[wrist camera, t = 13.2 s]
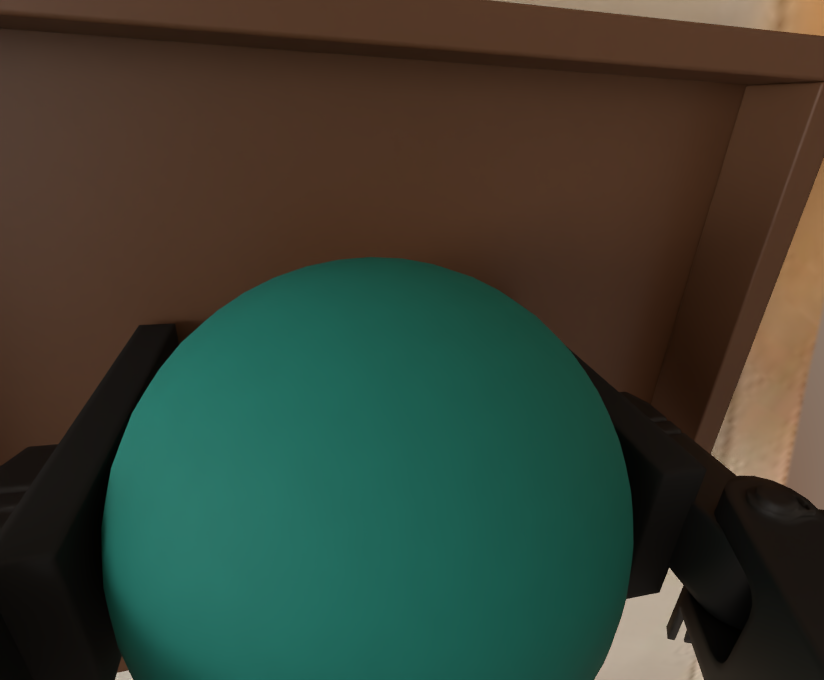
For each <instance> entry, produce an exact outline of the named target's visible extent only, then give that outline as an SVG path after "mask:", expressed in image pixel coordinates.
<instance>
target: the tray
mask: <svg viewBox="0 0 824 680" xmlns="http://www.w3.org/2000/svg"><path fill="white" fill-rule="evenodd" d="M823 158H824V36H817V35H808V34H798V33H789V32H780V31H770V30H761V29H752V28H742V27H733V26H724V25H714V24H705V23H696V22H686V21H677V20H668V19H658V18H649V17H640V16H630V15H621V14H612V13H602V12H593V11H584V10H574V9H565V8H556V7H546V6H537V5H528V4H519V3H509V2H500V1H491V0H0V466H2V465H3V464H4V463H6V462H7V461H9V460H10V459H11V458H13V457H14V456H16V455H17V454H18V453H20V452H21V451H23V450H24V449H25V448H27V447H31V446H42V445H53V444H59V443H60V441H61V440H62V438H63V437H64V435H65V434H66V432H67V431H68V429H69V428H70V426H71V425H72V423H73V422H74V420H75V419H76V417H77V416H78V414H79V413H80V412H81V410H82V409H83V407H84V406H85V404H86V403H87V401H88V400H89V398H90V397H91V395H92V394H93V392H94V391H95V389H96V388H97V386H98V385H99V383H100V382H101V381H102V379H103V378H104V376H105V375H106V373H107V372H108V370H109V369H110V367H111V366H112V364H113V363H114V361H115V360H116V358H117V357H118V355H119V354H120V352H121V351H122V350H123V348H124V347H125V345H126V344H127V342H128V341H129V339H130V338H131V336H132V335H133V333H134V332H135V330H136V329H137V327H138V326H139V325H152V324H175V325H176V331H177V336H178V342H179V345H180V343H181V342H182V341H183V340H185V339H186V338H187V337H188V336H189V335H190V334H191V333H192V332H193V331H195V330H196V329H197V328H198V327H199V326H200V325H201V324H202V323H203V322H205V321H206V320H207V319H208V318H209V317H210V316H212V315H213V314H214V313H215V312H216V311H218V310H219V309H221V308H222V307H223V306H225V305H226V304H228V303H229V302H231V301H232V300H234V299H235V298H237V297H238V296H240V295H241V294H243V293H244V292H246V291H248V290H250V289H252V288H254V287H256V286H258V285H260V284H262V283H264V282H266V281H268V280H270V279H272V278H274V277H277V276H280V275H283V274H286V273H289V272H291V271H294V270H297V269H300V268H303V267H306V266H311V265H315V264H320V263H325V262H329V261H334V260H340V259H352V258H364V257H382V258H402V259H408V260H414V261H419V262H425V263H430V264H434V265H437V266H440V267H444V268H447V269H450V270H453V271H456V272H459V273H462V274H465V275H468V276H471V277H473V278H475V279H477V280H479V281H481V282H484V283H486V284H488V285H490V286H492V287H494V288H496V289H498V290H499V291H501V292H502V293H504V294H505V295H507V296H508V297H510V298H511V299H513V300H514V301H516V302H517V303H518V304H520V305H521V306H523V307H524V308H525V309H527V310H528V311H530V312H531V313H533V314H534V315H535V316H537V317H538V318H539V319H540V320H541V321H542V322H543V323H544V324H545V325H546V326H547V327H548V328H549V329H550V330H551V331H552V332H553V333H554V334H555V335H556V336H557V337H558V338H559V339H560V340H561V341H562V342H563V343H564V345H566V346H567V347H568V348H569V349H570V350H571V351H572V352H574V353H575V354H576V355H577V356H578V357H579V358H580V359H582V360H583V361H584V362H585V363H586V364H587V365H588V366H590V367H591V368H592V369H593V370H594V371H595V372H596V373H598V374H599V375H600V376H601V377H602V378H603V379H605V380H606V381H607V382H608V383H609V384H610V385H611V386H613V387H614V388H615V389H616V390H617V391H618V392H628V393H630V394H632V395H634V396H636V397H638V398H640V399H642V400H644V401H646V402H648V403H649V404H651V405H652V406H653V407H654V408H655V409H657V410H658V411H659V412H660V413H661V414H663V415H664V416H665V417H666V418H667V421H671V422H672V423H673V424H675V425H676V426H677V427H678V428H679V429H681V433H685V434H687V435H688V436H689V437H690V438H691V439H693V440H694V441H695V442H696V443H697V444H699V445H700V446H701V447H702V448H703V449H705V450H706V451H707V452H708V453H709V454H711V451H712V449H713V446H714V443H715V441H716V438H717V436H718V433H719V430H720V428H721V425H722V422H723V420H724V417H725V415H726V412H727V409H728V407H729V404H730V401H731V399H732V396H733V394H734V391H735V388H736V386H737V383H738V380H739V378H740V375H741V373H742V370H743V367H744V365H745V362H746V359H747V357H748V354H749V352H750V349H751V346H752V344H753V341H754V339H755V336H756V333H757V331H758V328H759V325H760V323H761V320H762V318H763V315H764V312H765V310H766V307H767V304H768V302H769V299H770V297H771V294H772V291H773V289H774V286H775V283H776V281H777V278H778V276H779V273H780V270H781V268H782V265H783V262H784V260H785V257H786V255H787V252H788V249H789V247H790V244H791V242H792V239H793V236H794V234H795V231H796V228H797V226H798V223H799V221H800V218H801V215H802V213H803V210H804V207H805V205H806V202H807V200H808V197H809V194H810V192H811V189H812V186H813V184H814V181H815V179H816V176H817V173H818V171H819V168H820V165H821V163H822V160H823ZM127 670H128V668H127V666H126V663H125V661H124V659H123V657H121V661H120V664H119V667H118V671H117V672H122V671H127Z"/></svg>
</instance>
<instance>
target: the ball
mask: <svg viewBox="0 0 824 680" xmlns="http://www.w3.org/2000/svg"><path fill="white" fill-rule="evenodd" d="M101 552H102V572H103V588H104V593H105V597H106V602H107V607H108V611H109V616H110V619H111V623H112V627H113V630H114V634H115V638H116V641H117V645H118V648H119V650H120V653H121V655H122V657H123V659H124V661H125V663H126V666H127V668H128V670H129V672H130V674H131V676H132V678H133V680H594V679H595V677H596V675H597V674H598V672H599V670H600V668H601V667H602V665H603V663H604V661H605V659H606V657H607V654H608V652H609V650H610V647H611V644H612V642H613V639H614V636H615V633H616V630H617V627H618V625H619V622H620V619H621V616H622V612H623V609H624V605H625V601H626V597H627V591H628V585H629V578H630V572H631V566H632V555H633V509H632V497H631V489H630V484H629V479H628V474H627V469H626V464H625V460H624V456H623V452H622V449H621V445H620V441H619V439H618V436H617V433H616V431H615V428H614V426H613V423H612V421H611V418H610V415H609V413H608V411H607V409H606V407H605V405H604V403H603V401H602V399H601V397H600V394H599V393H598V391H597V389H596V388H595V386H594V385H593V383H592V381H591V380H590V378H589V376H588V375H587V373H586V372H585V370H584V369H583V368H582V366H581V365H580V363H579V362H578V361H577V359H576V358H575V356H574V355H573V354H572V352H571V351H570V350H569V349H568V348H567V347H566V346H565V345H564V343H563V342H562V341H561V340H560V339H559V338H558V337H557V336H556V335H555V334H554V333H553V332H552V331H551V330H550V329H549V328H548V327H547V326H546V325H545V324H544V323H543V322H542V321H541V320H540V319H539V318H538V317H537V316H535V315H534V314H533V313H531V312H530V311H528V310H527V309H525V308H524V307H523V306H521V305H520V304H518V303H517V302H516V301H514V300H513V299H511V298H510V297H508V296H507V295H505V294H504V293H502V292H501V291H499V290H498V289H496V288H494V287H492V286H490V285H488V284H486V283H484V282H481V281H479V280H477V279H475V278H473V277H471V276H468V275H465V274H462V273H459V272H456V271H453V270H450V269H447V268H444V267H440V266H437V265H434V264H430V263H425V262H419V261H414V260H408V259H402V258H382V257H364V258H352V259H340V260H334V261H329V262H325V263H320V264H315V265H311V266H306V267H303V268H300V269H297V270H294V271H291V272H289V273H286V274H283V275H280V276H277V277H274V278H272V279H270V280H268V281H266V282H264V283H262V284H260V285H258V286H256V287H254V288H252V289H250V290H248V291H246V292H244V293H243V294H241V295H240V296H238V297H237V298H235V299H234V300H232V301H231V302H229V303H228V304H226V305H225V306H223V307H222V308H221V309H219V310H218V311H216V312H215V313H214V314H213V315H212V316H210V317H209V318H208V319H207V320H206V321H205V322H203V323H202V324H201V325H200V326H199V327H198V328H197V329H196V330H195V331H193V332H192V333H191V334H190V335H189V336H188V337H187V338H186V339H185V340H183V341H182V342H181V343H180V345H179V346H178V347H177V348H176V349H175V351H174V352H173V353H172V354H171V355H170V357H169V358H168V359H167V360H166V362H165V363H164V364H163V365H162V366H161V368H160V369H159V370H158V372H157V373H156V375H155V377H154V378H153V380H152V381H151V383H150V384H149V386H148V387H147V389H146V391H145V392H144V394H143V396H142V397H141V399H140V401H139V402H138V404H137V406H136V407H135V409H134V411H133V412H132V414H131V417H130V420H129V422H128V425H127V427H126V430H125V432H124V435H123V438H122V440H121V443H120V445H119V448H118V451H117V454H116V456H115V459H114V462H113V464H112V467H111V472H110V477H109V482H108V487H107V493H106V498H105V505H104V512H103V519H102V526H101Z"/></svg>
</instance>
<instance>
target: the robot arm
mask: <svg viewBox="0 0 824 680" xmlns="http://www.w3.org/2000/svg"><path fill="white" fill-rule="evenodd" d="M178 346H179V342H178V336H177V331H176V325H175V324H152V325H139V326H138V327H137V329H136V330H135V332H134V333H133V335H132V336H131V338H130V339H129V341H128V342H127V344H126V345H125V347H124V348H123V350H122V351H121V352H120V354H119V355H118V357H117V358H116V360H115V361H114V363H113V364H112V366H111V367H110V369H109V370H108V372H107V373H106V375H105V376H104V378H103V379H102V381H101V382H100V383H99V385H98V386H97V388H96V389H95V391H94V392H93V394H92V395H91V397H90V398H89V400H88V401H87V403H86V404H85V406H84V407H83V409H82V410H81V412H80V413H79V414H78V416H77V417H76V419H75V420H74V422H73V423H72V425H71V426H70V428H69V429H68V431H67V432H66V434H65V435H64V437H63V438H62V440H61V441H60V443H59V444H53V445H42V446H31V447H27V448H25V449H24V450H23V451H21V452H20V453H18V454H17V455H16V456H14V457H13V458H11V459H10V460H9V461H7V462H6V463H4V464H3V465H2V466H0V680H115V677H116V674H117V671H118V667H119V664H120V661H121V657H122V655H121V653H120V650H119V648H118V645H117V641H116V638H115V634H114V630H113V627H112V623H111V619H110V616H109V611H108V607H107V602H106V597H105V593H104V588H103V572H102V552H101V526H102V519H103V512H104V505H105V498H106V493H107V487H108V482H109V477H110V472H111V467H112V464H113V462H114V459H115V456H116V454H117V451H118V448H119V445H120V443H121V440H122V438H123V435H124V432H125V430H126V427H127V425H128V422H129V420H130V417H131V414H132V412H133V411H134V409H135V407H136V406H137V404H138V402H139V401H140V399H141V397H142V396H143V394H144V392H145V391H146V389H147V387H148V386H149V384H150V383H151V381H152V380H153V378H154V377H155V375H156V373H157V372H158V370H159V369H160V368H161V366H162V365H163V364H164V363H165V362H166V360H167V359H168V358H169V357H170V355H171V354H172V353H173V352H174V351H175V349H176V348H177V347H178ZM565 346H566V345H565ZM566 347H567V346H566ZM567 348H568V347H567ZM568 349H569V348H568ZM569 350H570V349H569ZM570 351H571V350H570ZM571 352H572V351H571ZM572 354H573V355H574V356H575V358H576V359H577V361H578V362H579V363H580V365H581V366H582V368H583V369H584V370H585V372H586V373H587V375H588V376H589V378H590V380H591V381H592V383H593V385H594V386H595V388H596V389H597V391H598V393H599V394H600V397H601V399H602V401H603V403H604V405H605V407H606V409H607V411H608V413H609V415H610V418H611V421H612V423H613V426H614V428H615V431H616V433H617V436H618V439H619V441H620V445H621V449H622V452H623V456H624V460H625V464H626V469H627V474H628V479H629V484H630V489H631V497H632V509H633V555H632V566H631V572H630V578H629V585H628V591H627V597H626V599H628V598H633V597H638V596H643V595H649V594H654V593H659V592H660V590H661V587H662V584H663V582H664V579H665V577H666V574H667V571H668V569H669V568H670V569H671V570H672V571H673V572H674V574H675V575H676V576H677V577H678V579H679V580H680V581H681V582H682V583H683V585H684V586H683V588H682V591H681V593H680V596H679V598H678V600H677V603H676V605H675V608H674V610H673V612H672V615H671V617H670V620H669V622H668V624H667V637H668V639H671V640H675V638H676V636H677V633H678V631H679V629H680V626H681V624H682V622H683V620H684V622H685V625H686V628H687V631H686V634H685V638H684V642H687V643H692V646H693V648H694V651H695V654H696V657H697V660H698V663H699V666H700V669H701V672H702V675H703V677H704V680H824V510H820V509H817V508H816V507H815V506H814V505H813V504H812V503H811V502H810V501H809V500H808V499H806V498H805V497H803V496H802V495H800V494H798V493H797V492H795V491H794V490H792V489H790V488H788V487H786V486H784V485H781V484H779V483H777V482H774V481H772V480H768V479H764V478H760V477H756V476H736V475H735V474H734V473H732V472H731V471H730V470H729V469H728V468H726V467H725V466H724V465H723V464H721V463H720V462H719V461H718V460H717V459H715V458H714V457H713V456H712V455H711V454H709V453H708V452H707V451H706V450H705V449H703V448H702V447H701V446H700V445H699V444H697V443H696V442H695V441H694V440H693V439H691V438H690V437H689V436H688V435H687V434H685V433H681V429H679V428H678V427H677V426H676V425H675V424H673V423H672V422H671V421H667V418H666V417H665V416H664V415H663V414H661V413H660V412H659V411H658V410H657V409H655V408H654V407H653V406H652V405H651V404H649V403H648V402H646V401H644V400H642V399H640V398H638V397H636V396H634V395H632V394H630V393H628V392H618V391H617V390H616V389H615V388H614V387H613V386H611V385H610V384H609V383H608V382H607V381H606V380H605V379H603V378H602V377H601V376H600V375H599V374H598V373H596V372H595V371H594V370H593V369H592V368H591V367H590V366H588V365H587V364H586V363H585V362H584V361H583V360H582V359H580V358H579V357H578V356H577V355H576V354H575V353H574V352H572Z"/></svg>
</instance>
